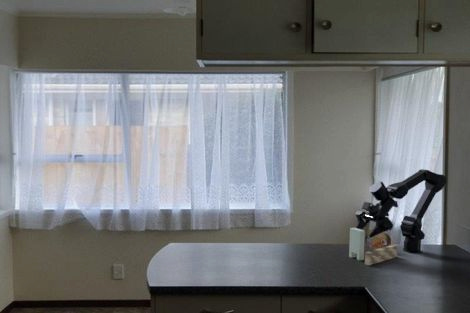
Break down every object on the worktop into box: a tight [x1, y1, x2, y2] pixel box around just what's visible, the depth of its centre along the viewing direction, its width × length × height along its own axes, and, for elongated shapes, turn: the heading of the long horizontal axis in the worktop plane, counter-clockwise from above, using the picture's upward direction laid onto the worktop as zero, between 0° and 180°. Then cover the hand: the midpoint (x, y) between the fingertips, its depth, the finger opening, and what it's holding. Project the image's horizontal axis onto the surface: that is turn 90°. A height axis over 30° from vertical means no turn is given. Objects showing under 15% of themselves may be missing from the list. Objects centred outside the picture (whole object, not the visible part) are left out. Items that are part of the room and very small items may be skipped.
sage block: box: [348, 227, 366, 261], centre depth 214 cm, size 2×6×12 cm, turn 26°
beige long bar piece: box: [364, 244, 398, 266], centre depth 212 cm, size 22×2×5 cm, turn 132°
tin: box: [364, 229, 392, 250], centre depth 232 cm, size 15×3×8 cm, turn 25°
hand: (362, 234), depth 215 cm, fingers open, 9 cm apart
